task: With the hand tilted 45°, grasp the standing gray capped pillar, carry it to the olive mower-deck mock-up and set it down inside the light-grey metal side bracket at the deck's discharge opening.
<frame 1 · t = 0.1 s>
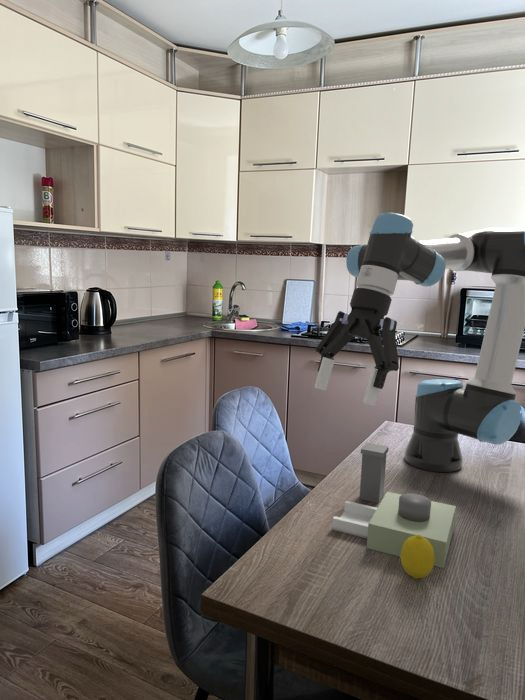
hand: (342, 396, 101), 28 cm above the table, tool tilted 20°, fingers open, 13 cm apart
lemon: (415, 579, 90), on the table
gray capped pillar: (371, 497, 121), on the table
mower deck: (352, 523, 108), on the table
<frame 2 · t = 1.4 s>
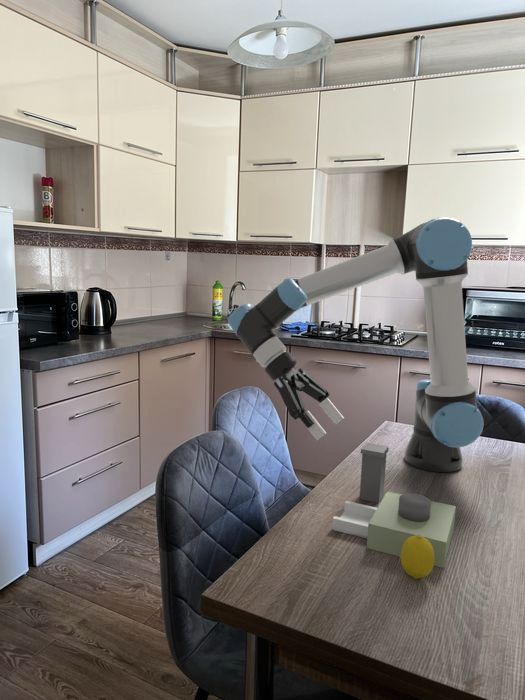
hand: (331, 428, 123), 15 cm above the table, tool tilted 45°, fingers open, 13 cm apart
nothing on the table moved.
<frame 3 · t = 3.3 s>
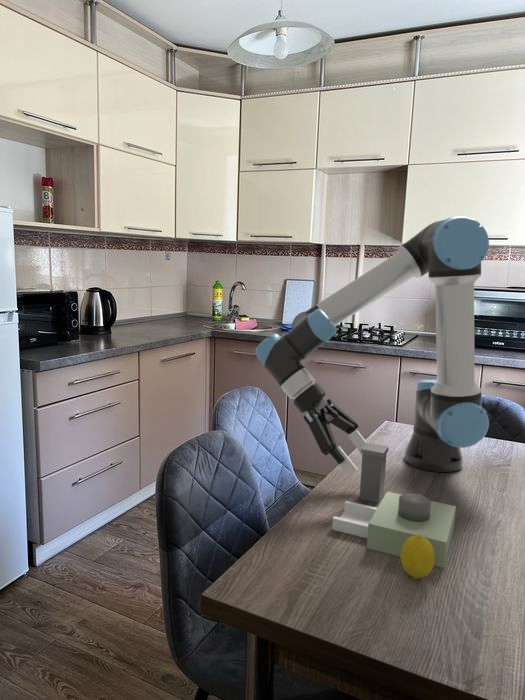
hand: (361, 463, 121), 8 cm above the table, tool tilted 45°, fingers open, 13 cm apart
nothing on the table moved.
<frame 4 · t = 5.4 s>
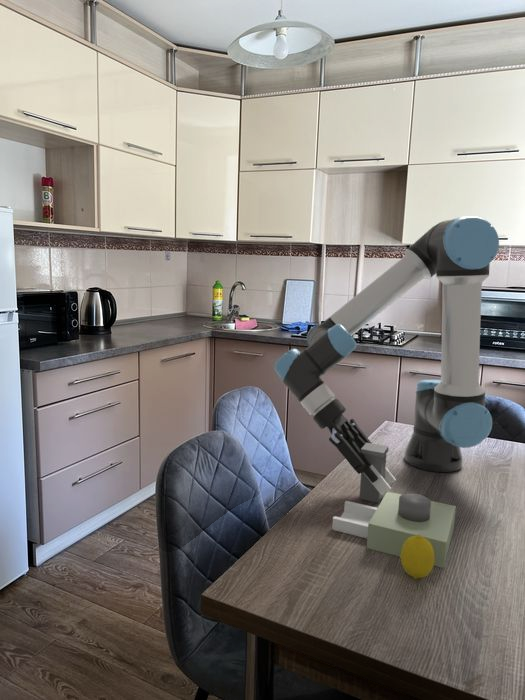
hand: (388, 487, 119), 3 cm above the table, tool tilted 45°, fingers closed on gray capped pillar, 4 cm apart
gray capped pillar: (371, 497, 121), on the table, touching gripper
everything else where it was.
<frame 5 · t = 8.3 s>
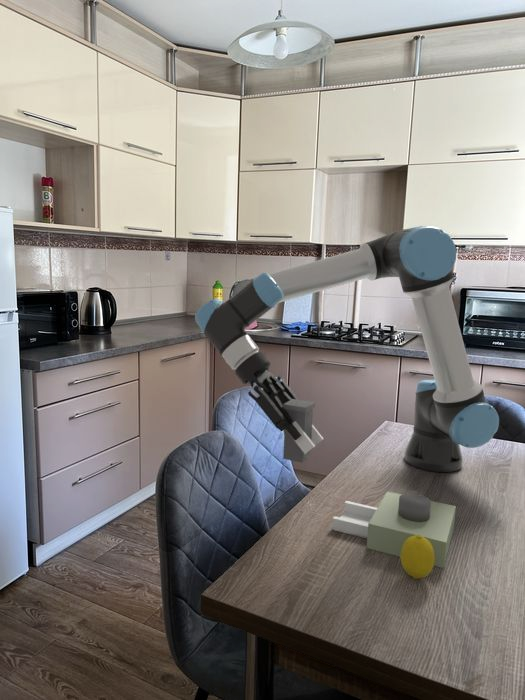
hand: (314, 446, 110), 15 cm above the table, tool tilted 45°, fingers closed on gray capped pillar, 4 cm apart
gray capped pillar: (297, 457, 112), point 12 cm above the table, touching gripper
everything else where it was.
when the fingers open (5 cm above the table, at t = 11.6 s): gray capped pillar stays where it is, resting on mower deck.
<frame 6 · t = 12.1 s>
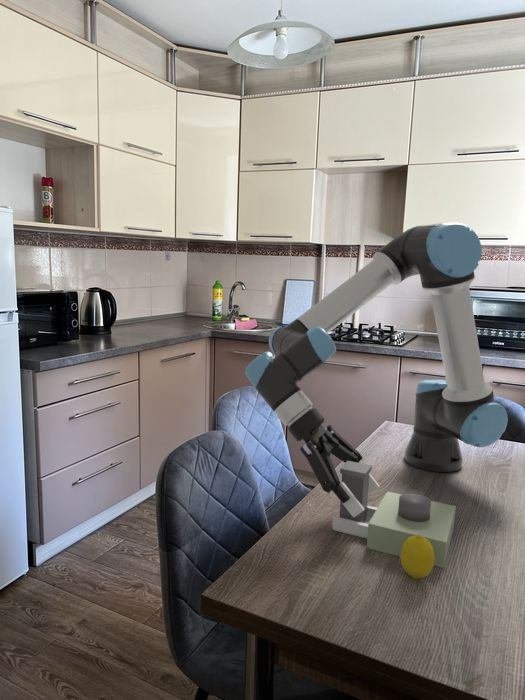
hand: (367, 501, 106), 6 cm above the table, tool tilted 45°, fingers open, 11 cm apart
gray capped pillar: (352, 521, 108), resting on mower deck
everything else where it was.
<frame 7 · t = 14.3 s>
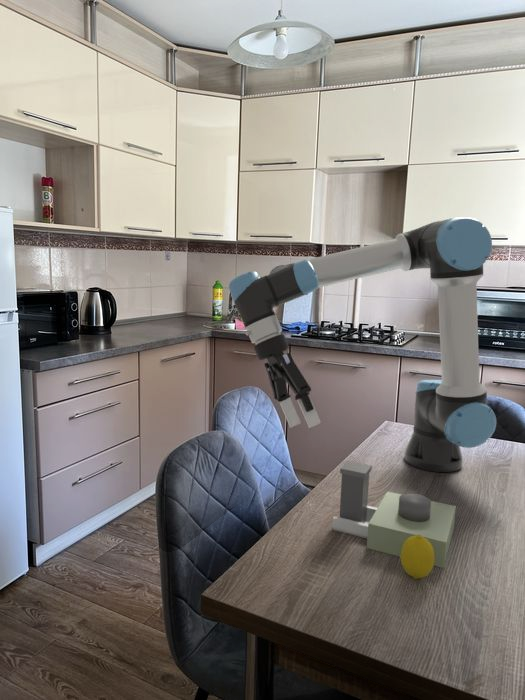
hand: (304, 425, 118), 17 cm above the table, tool tilted 25°, fingers open, 13 cm apart
nothing on the table moved.
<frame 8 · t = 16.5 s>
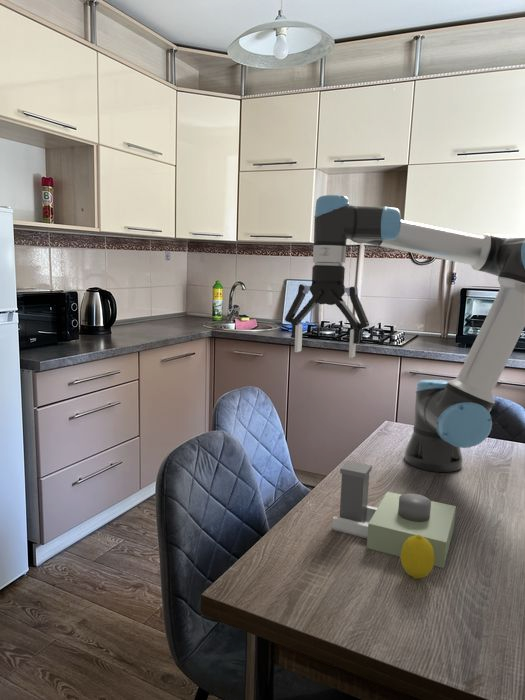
hand: (324, 354, 125), 32 cm above the table, tool pointing down, fingers open, 13 cm apart
nothing on the table moved.
at the end: gray capped pillar 0.0 cm off-centre on the mower deck, point 0.4 cm above the mower deck's base; gray capped pillar tilted 0°; the gripper is holding nothing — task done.
